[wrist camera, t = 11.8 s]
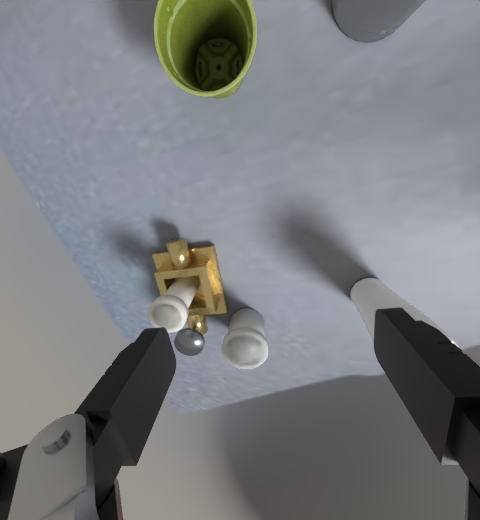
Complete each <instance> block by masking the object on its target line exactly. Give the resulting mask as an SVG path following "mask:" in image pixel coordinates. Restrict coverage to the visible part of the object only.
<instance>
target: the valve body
mask: <svg viewBox="0 0 480 520" xmlns="http://www.w3.org/2000/svg"><path fill="white" fill-rule="evenodd" d="M166 247H167V250H168V251H162V252H155V253H153V254H152V256H153V259H154V262H155V266H156V269H157V270H156V271H155V272H154V275H155V278H156V282H157V285H158V288H159V291H160V295H161V296H162V295H164V294H165V292H166V291H167V290H168V289H169V287H170V286H171V285H172V283H173V282H174V281H175V279H176V278H179V277H188V276H193V277H194V278H195V279H196V280H197V282H198V290H197V292H196V294H195V296H194V298H193V300H192V302H191V304H190V306H189V308H188V312H189V314H188V318H187V323H188V327H189V328H186V329H182V330H180V331H179V332H178V334H177V335H176V337H175V340H174V344H175V347H176V349H177V350H178V351H179V352H181V353H182V354H184V355H188V356H194V355H197V354H199V353H200V352H201V351H202V349H203V347H204V343H205V341H204V337H203V334H205V333H206V332H207V330H208V327H207V323H206V319H205V315H211V314H222V313H227V310H228V309H227V304H226V299H225V295H224V290H223V285H222V280H221V275H220V270H219V265H218V260H217V255H216V250H215V245H208V246H200V247H193V248H188V245H187V241H186V238H178V239H173V240H170V241H168V242H166Z"/></svg>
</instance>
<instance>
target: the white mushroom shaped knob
mask: <svg viewBox="0 0 480 520" xmlns="http://www.w3.org/2000/svg"><path fill="white" fill-rule="evenodd" d="M197 290H198V282H197V280H196V279H195V278H194V277H193V276H188V277H179V278H176V279H175V281H174V282H173V283H172V285H171V286H170V287H169V289H168V290H167V291H166V292H165V294H164V295H162V296H159V297H158V298H157V299H156V300H155V301H154V302H153V303H152V305H151V306H150V307H149V310H148V317H149V320H150V322H151V323H152V325H153V326H154V327H156V328H160V327H164V328H166V330H167V332H176V331H178V330H180V329H181V328H182V327H183V326H184V324H185V322H186V320H187V318H188V314H189V312H188V308H189V306H190V304H191V302H192V300H193V298H194V296H195V294H196V292H197Z"/></svg>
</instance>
